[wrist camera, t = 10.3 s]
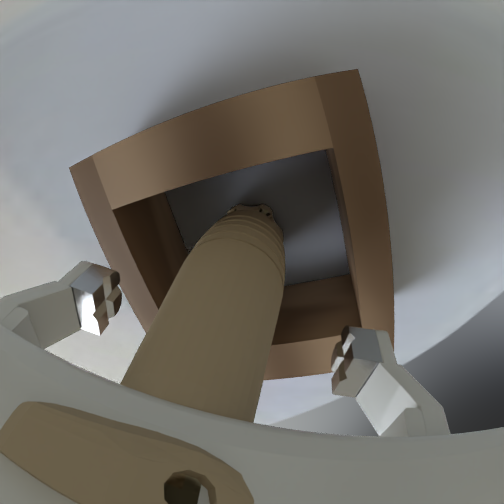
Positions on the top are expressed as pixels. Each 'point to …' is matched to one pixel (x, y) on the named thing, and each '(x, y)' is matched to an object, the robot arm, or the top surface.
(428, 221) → the top surface
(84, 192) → the frame
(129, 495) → the handle
